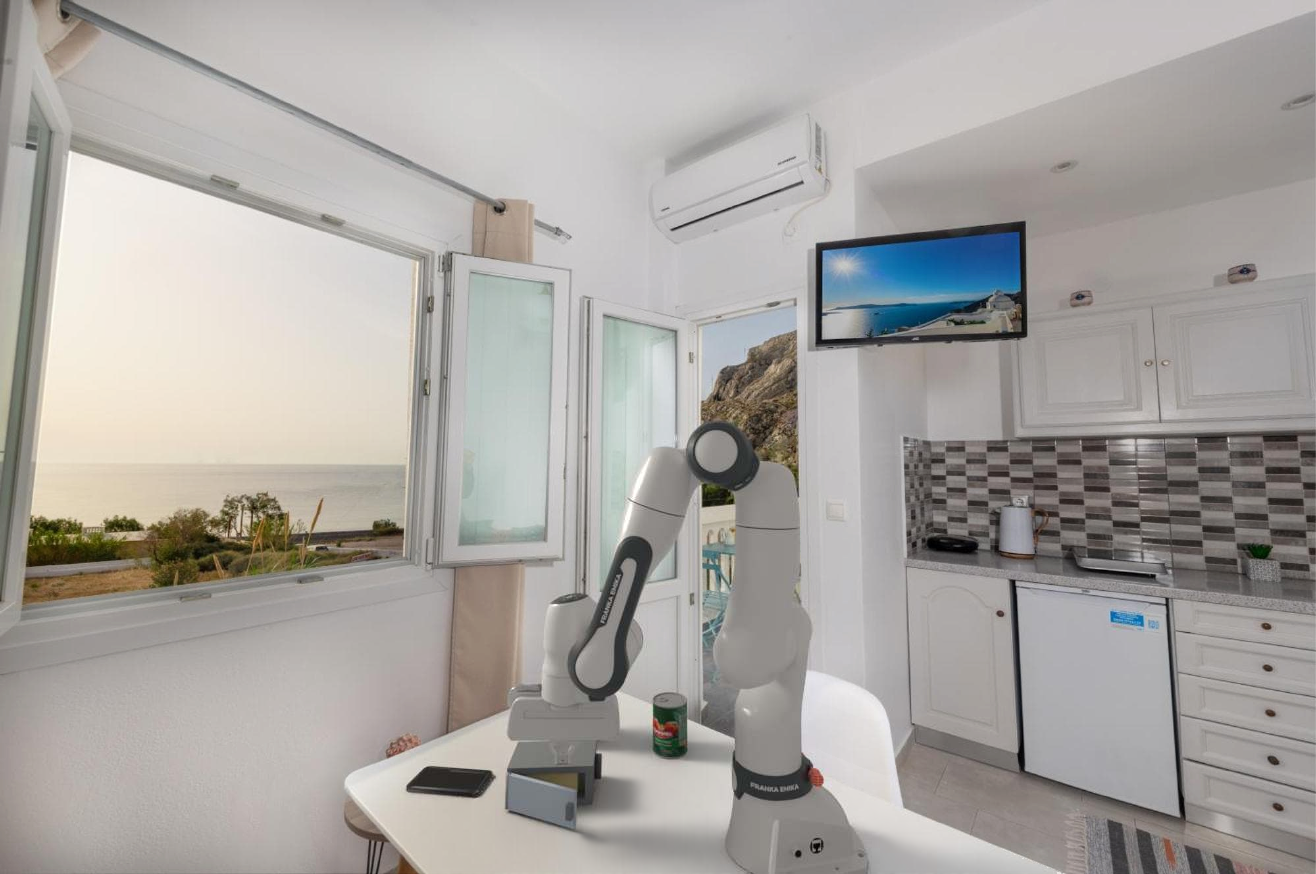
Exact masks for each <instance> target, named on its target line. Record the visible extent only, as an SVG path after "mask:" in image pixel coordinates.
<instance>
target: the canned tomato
mask: <svg viewBox="0 0 1316 874" xmlns="http://www.w3.org/2000/svg"><path fill="white" fill-rule="evenodd" d="M688 749H689V748H688V698H687V696H685V695H684V694H681V693H679V692H671V691H667V692H665V691H664V692H660V693H657V694H655V695H654V696H653V697H652V752H653V754H654V753H655V754H654V755H655V756H657V757H659V758H661V759H663V760H665V759H666V760H677V758H678V759H681V758H683V757H685V755H687V753H688ZM680 757H681V758H680Z"/></svg>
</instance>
